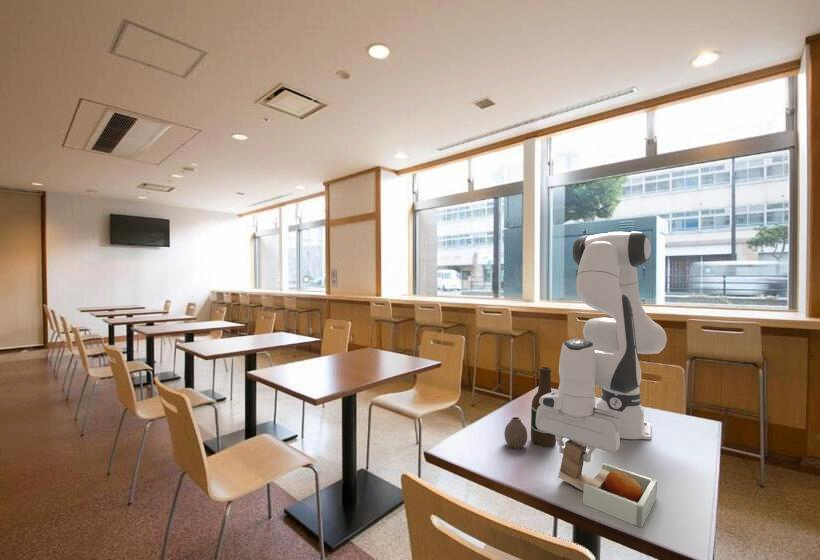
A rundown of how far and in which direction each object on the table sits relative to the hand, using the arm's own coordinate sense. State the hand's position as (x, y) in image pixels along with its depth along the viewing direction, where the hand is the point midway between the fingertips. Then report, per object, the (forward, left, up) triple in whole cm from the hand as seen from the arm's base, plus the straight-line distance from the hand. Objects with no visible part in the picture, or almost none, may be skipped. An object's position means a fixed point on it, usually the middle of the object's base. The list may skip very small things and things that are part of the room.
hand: (574, 456), depth 98 cm
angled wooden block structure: (0, +2, -6) cm, 7 cm away
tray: (0, +11, -7) cm, 13 cm away
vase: (-9, -21, -7) cm, 24 cm away
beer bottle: (-18, -16, -7) cm, 25 cm away
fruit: (0, +11, -7) cm, 13 cm away
